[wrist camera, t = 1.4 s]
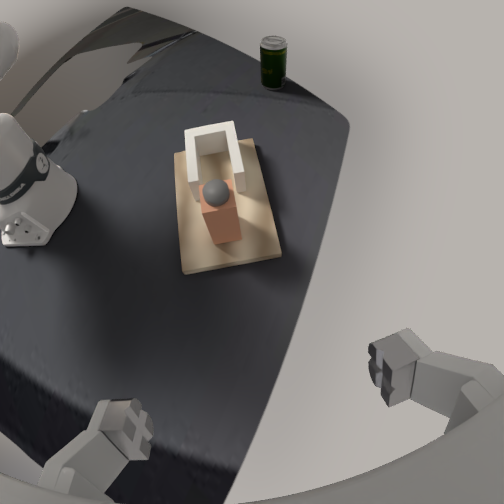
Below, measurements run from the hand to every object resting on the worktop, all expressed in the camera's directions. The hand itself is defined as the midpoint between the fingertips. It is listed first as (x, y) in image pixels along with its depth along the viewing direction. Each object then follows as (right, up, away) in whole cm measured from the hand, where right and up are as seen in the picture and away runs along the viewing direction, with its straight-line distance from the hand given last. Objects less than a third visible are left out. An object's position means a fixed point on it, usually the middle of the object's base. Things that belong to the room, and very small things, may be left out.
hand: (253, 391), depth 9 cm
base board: (-5, +13, +37) cm, 39 cm away
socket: (-6, +18, +37) cm, 42 cm away
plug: (-4, +8, +33) cm, 34 cm away
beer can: (+5, +42, +48) cm, 64 cm away
